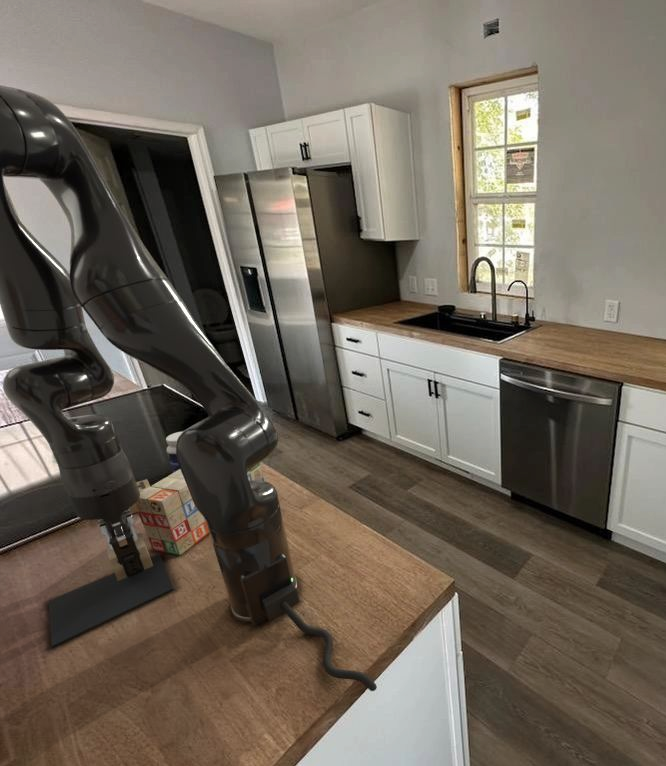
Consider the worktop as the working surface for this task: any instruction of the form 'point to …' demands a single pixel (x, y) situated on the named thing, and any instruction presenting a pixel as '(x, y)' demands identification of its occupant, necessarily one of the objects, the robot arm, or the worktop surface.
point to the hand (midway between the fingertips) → (133, 564)
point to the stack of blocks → (175, 513)
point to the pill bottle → (173, 450)
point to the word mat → (105, 601)
